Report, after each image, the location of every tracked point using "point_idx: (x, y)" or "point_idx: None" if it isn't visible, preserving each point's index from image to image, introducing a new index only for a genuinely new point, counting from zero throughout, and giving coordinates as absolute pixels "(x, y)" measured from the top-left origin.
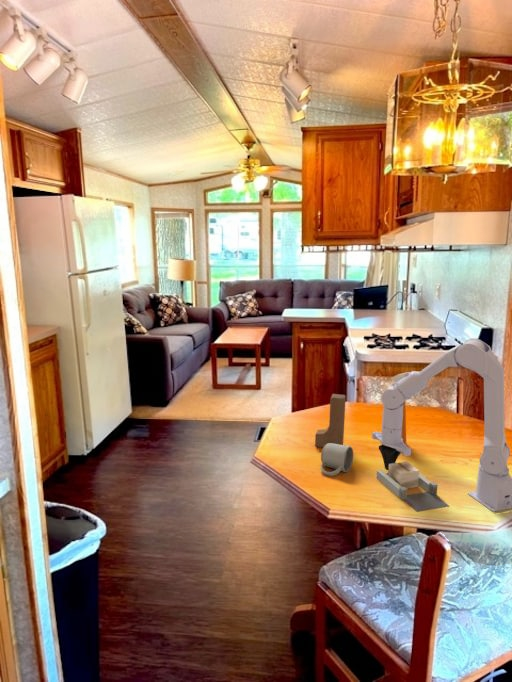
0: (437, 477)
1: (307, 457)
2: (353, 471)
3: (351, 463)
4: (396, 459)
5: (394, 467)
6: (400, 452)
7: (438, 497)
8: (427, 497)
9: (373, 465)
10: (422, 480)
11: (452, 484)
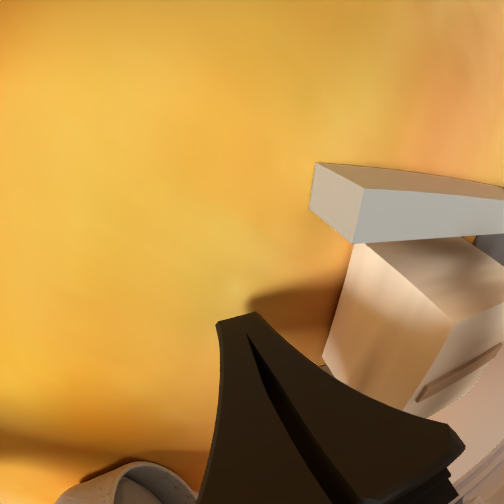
0: (431, 5)
1: (38, 498)
2: (163, 452)
3: (123, 474)
4: (327, 374)
5: (425, 416)
6: (423, 428)
7: None
8: (496, 242)
9: (90, 367)
10: (496, 231)
11: (493, 22)
